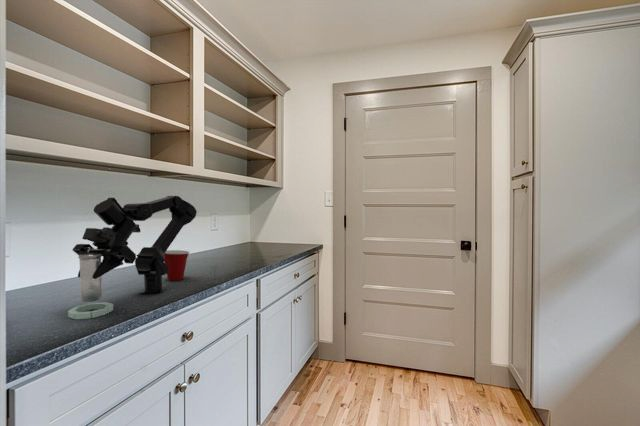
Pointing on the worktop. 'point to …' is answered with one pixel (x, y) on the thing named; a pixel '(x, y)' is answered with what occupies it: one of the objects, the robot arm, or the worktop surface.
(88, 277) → the glass jar
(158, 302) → the worktop surface
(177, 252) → the plastic cup
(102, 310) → the collar ring
